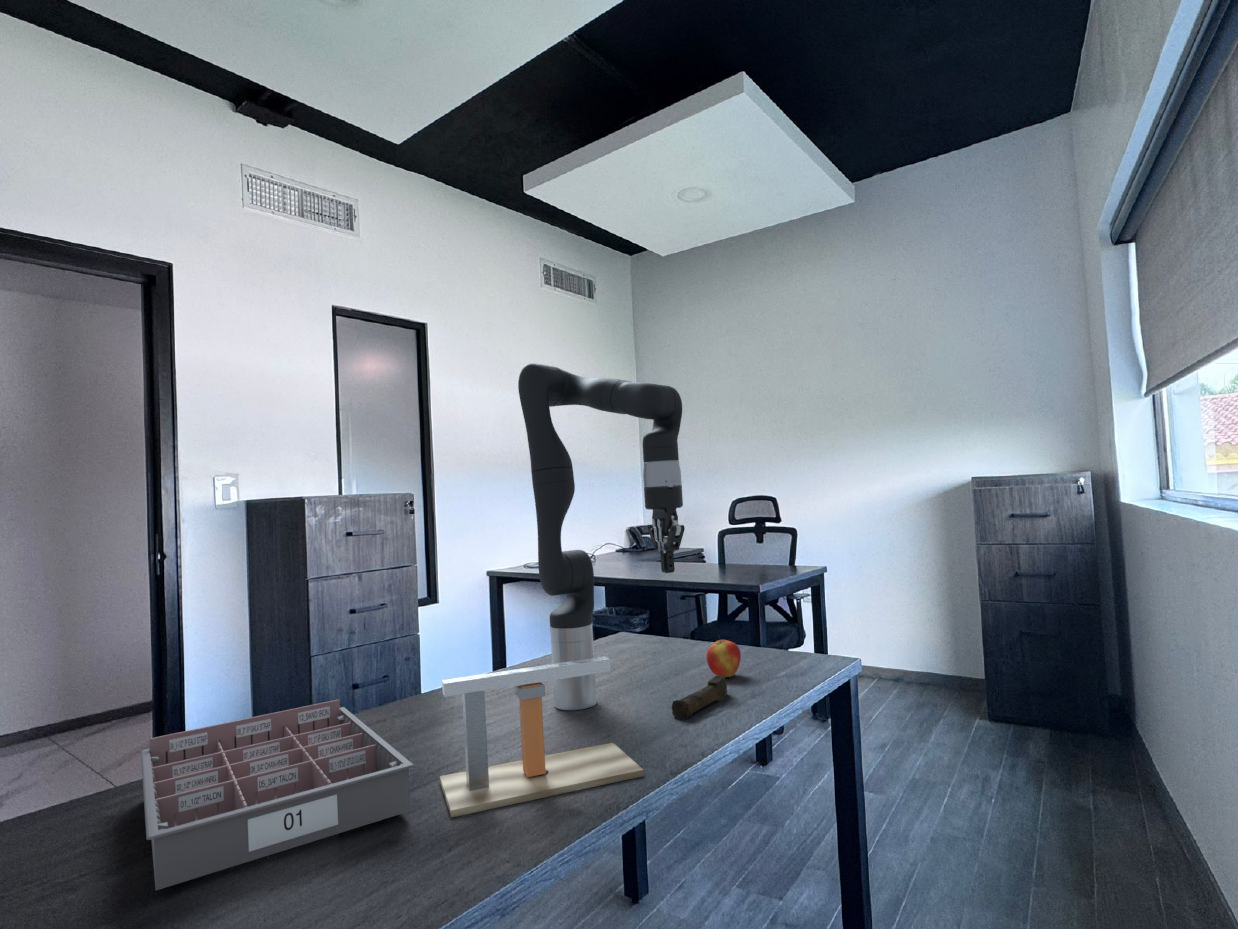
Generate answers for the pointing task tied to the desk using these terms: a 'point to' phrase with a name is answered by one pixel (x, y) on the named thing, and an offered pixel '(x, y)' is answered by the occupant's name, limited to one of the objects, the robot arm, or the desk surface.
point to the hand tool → (700, 698)
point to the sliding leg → (532, 728)
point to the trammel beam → (477, 684)
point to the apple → (723, 658)
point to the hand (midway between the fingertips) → (668, 572)
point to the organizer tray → (264, 788)
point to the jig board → (540, 779)
